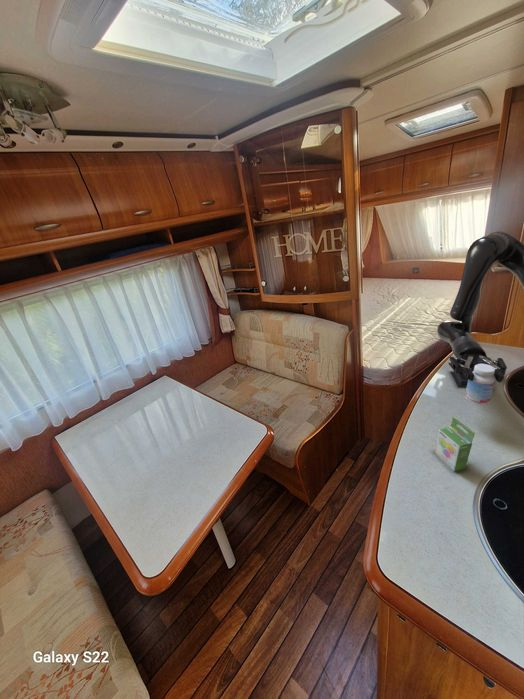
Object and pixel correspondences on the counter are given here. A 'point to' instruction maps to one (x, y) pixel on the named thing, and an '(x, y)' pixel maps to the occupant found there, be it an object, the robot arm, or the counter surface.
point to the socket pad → (460, 379)
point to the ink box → (454, 445)
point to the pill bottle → (481, 384)
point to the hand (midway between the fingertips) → (486, 378)
